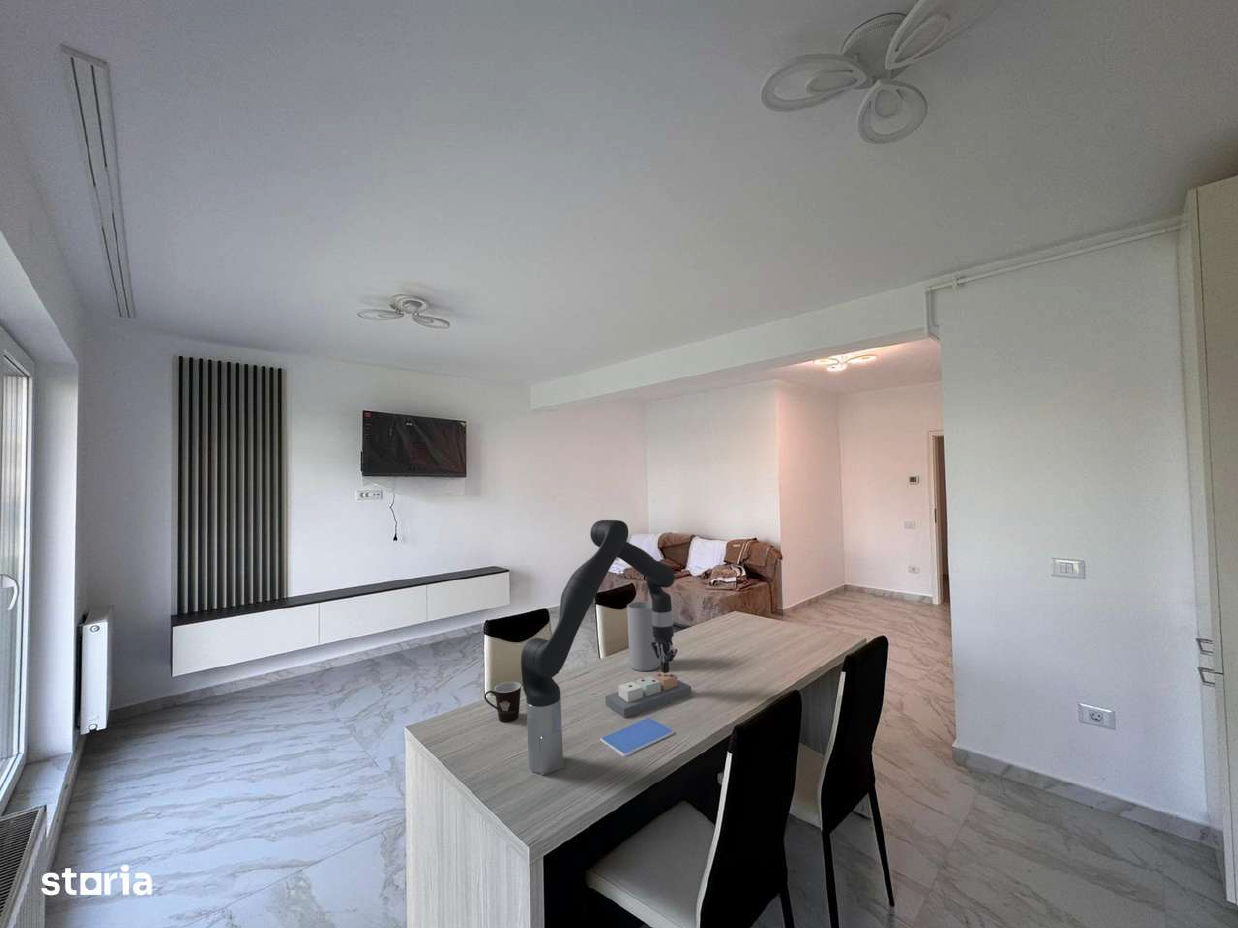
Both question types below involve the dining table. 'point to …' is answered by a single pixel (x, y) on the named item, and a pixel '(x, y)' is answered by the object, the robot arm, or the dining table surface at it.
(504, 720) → the coffee mug
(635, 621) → the cylinder vase
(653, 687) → the key two pips
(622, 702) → the keypad board
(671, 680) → the key three pips
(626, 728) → the blue flat rectangular panel
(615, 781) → the dining table surface
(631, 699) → the key one pip
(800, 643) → the dining table surface
